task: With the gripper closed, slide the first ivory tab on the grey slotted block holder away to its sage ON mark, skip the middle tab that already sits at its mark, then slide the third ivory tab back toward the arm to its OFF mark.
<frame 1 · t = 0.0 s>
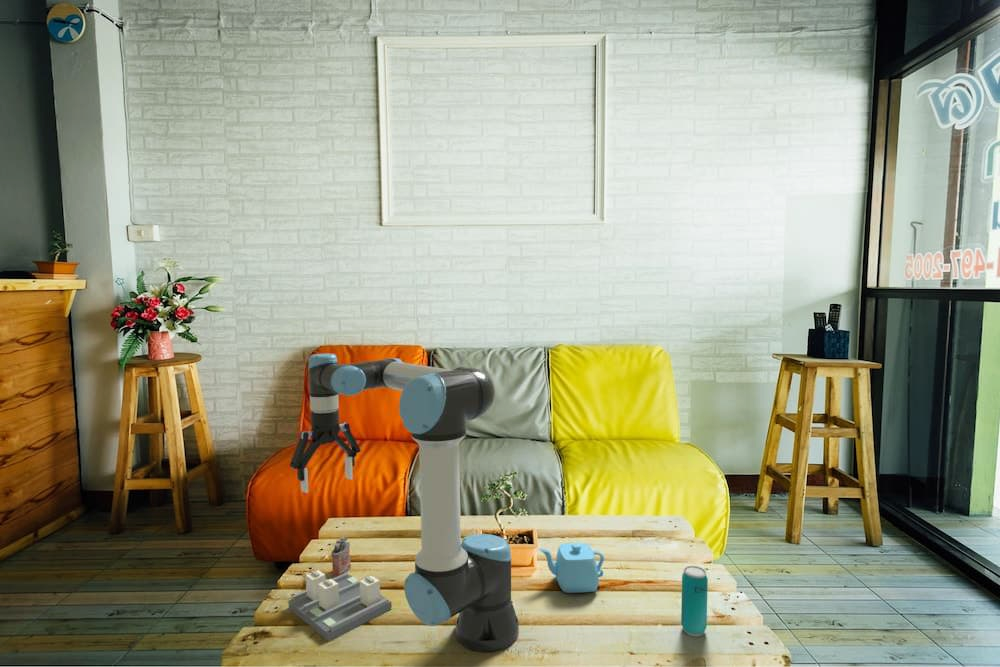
hand: (327, 484, 158), 28 cm above the table, fingers open, 13 cm apart
lighter: (341, 573, 165), on the table
teapot: (571, 585, 157), on the table
tab 2: (328, 593, 144), point 5 cm above the table, slide at 8.0 cm
beverage can: (693, 631, 136), on the table
grey slotted block holder: (340, 608, 147), on the table
tab 3: (315, 584, 149), point 5 cm above the table, slide at 8.0 cm
tab 1: (370, 590, 146), point 5 cm above the table, slide at 0.0 cm
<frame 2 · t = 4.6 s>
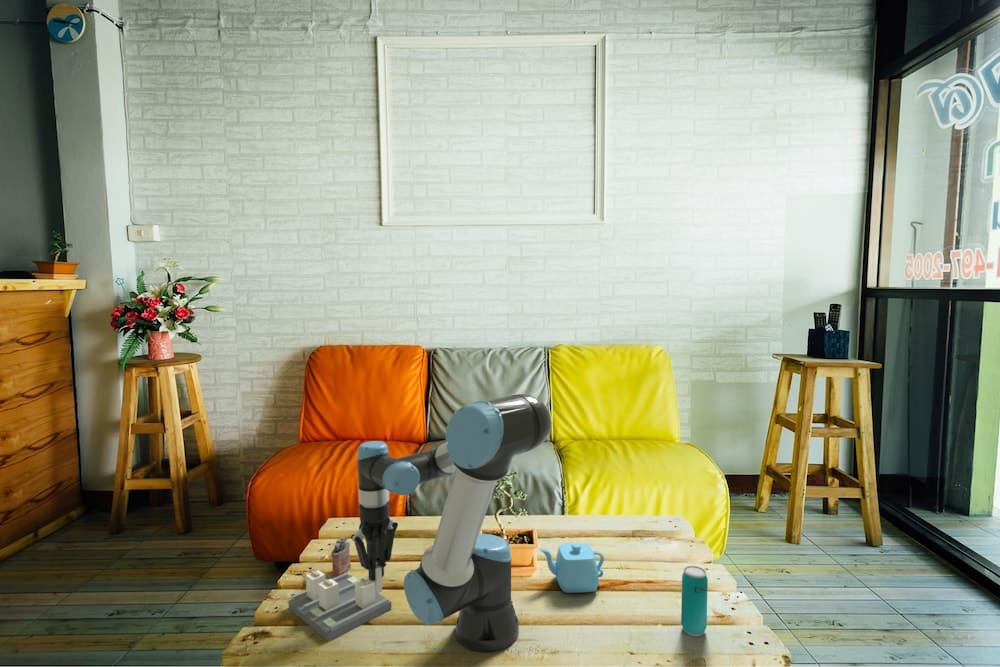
hand: (376, 590, 147), 4 cm above the table, fingers closed
tab 1: (365, 592, 145), point 5 cm above the table, slide at 1.4 cm, touching gripper
everything else where it was.
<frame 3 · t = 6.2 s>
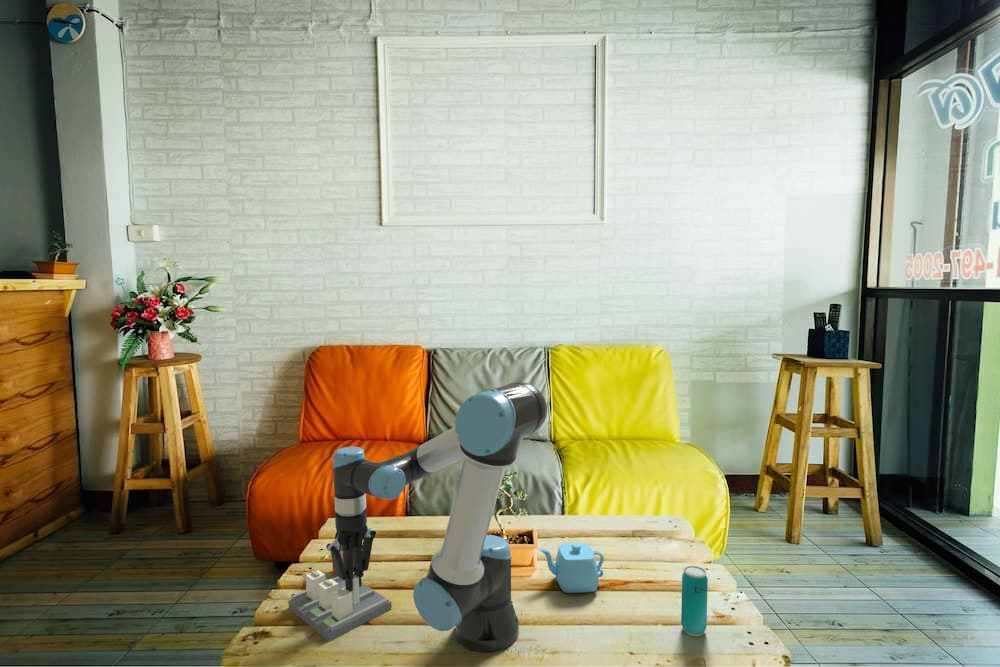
hand: (354, 600, 143), 4 cm above the table, fingers closed
tab 1: (341, 603, 140), point 5 cm above the table, slide at 8.1 cm, touching gripper
everything else where it was.
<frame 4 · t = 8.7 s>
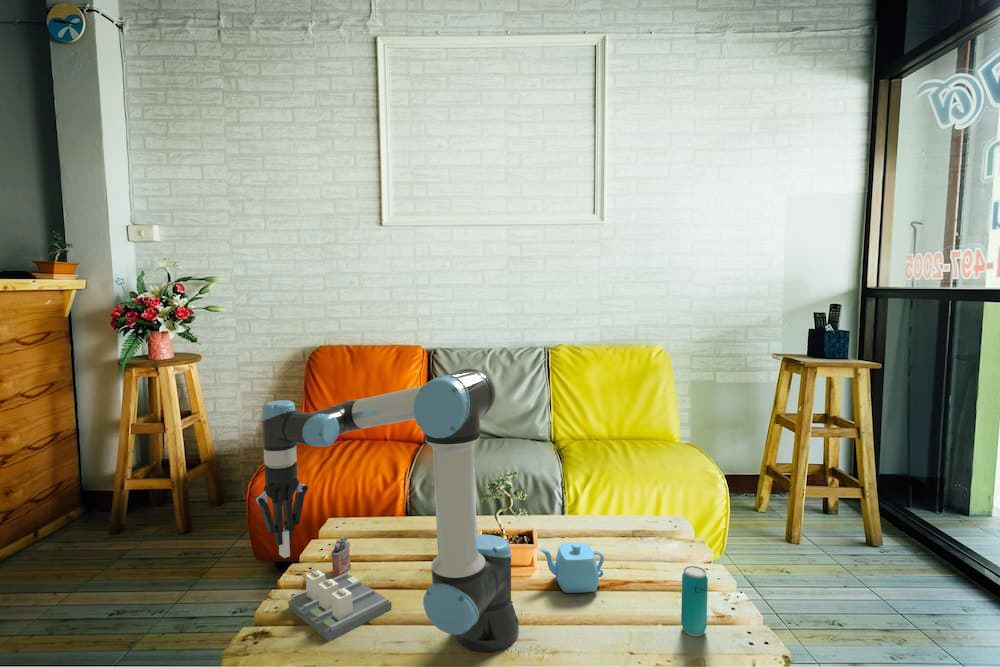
hand: (284, 555, 142), 16 cm above the table, fingers closed
tab 1: (342, 603, 140), point 5 cm above the table, slide at 8.0 cm
everything else where it was.
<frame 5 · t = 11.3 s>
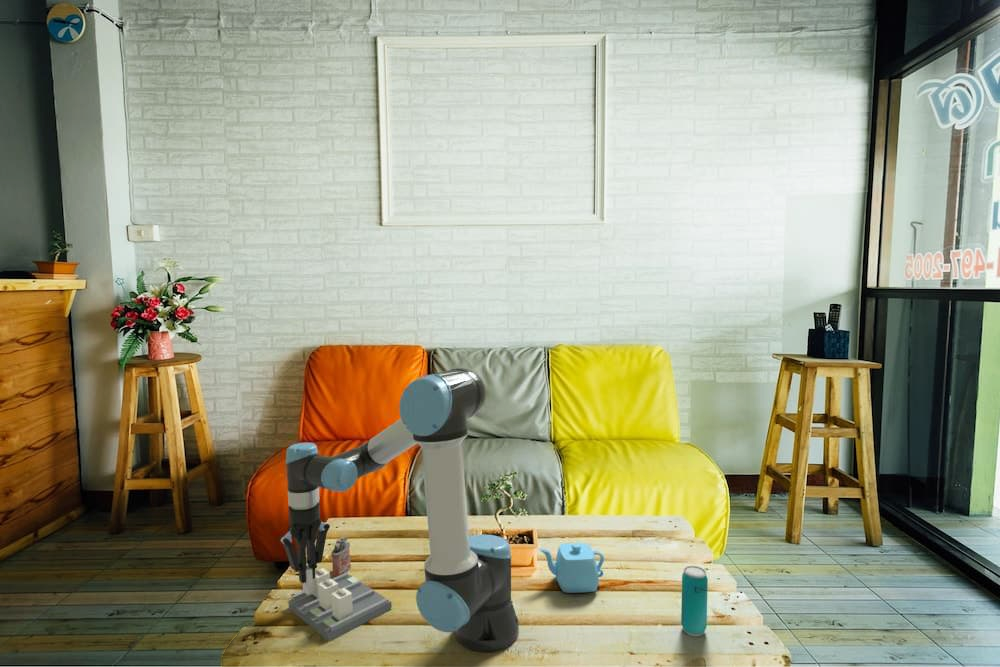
hand: (308, 592, 147), 4 cm above the table, fingers closed
tab 3: (320, 582, 150), point 5 cm above the table, slide at 6.7 cm, touching gripper
everything else where it was.
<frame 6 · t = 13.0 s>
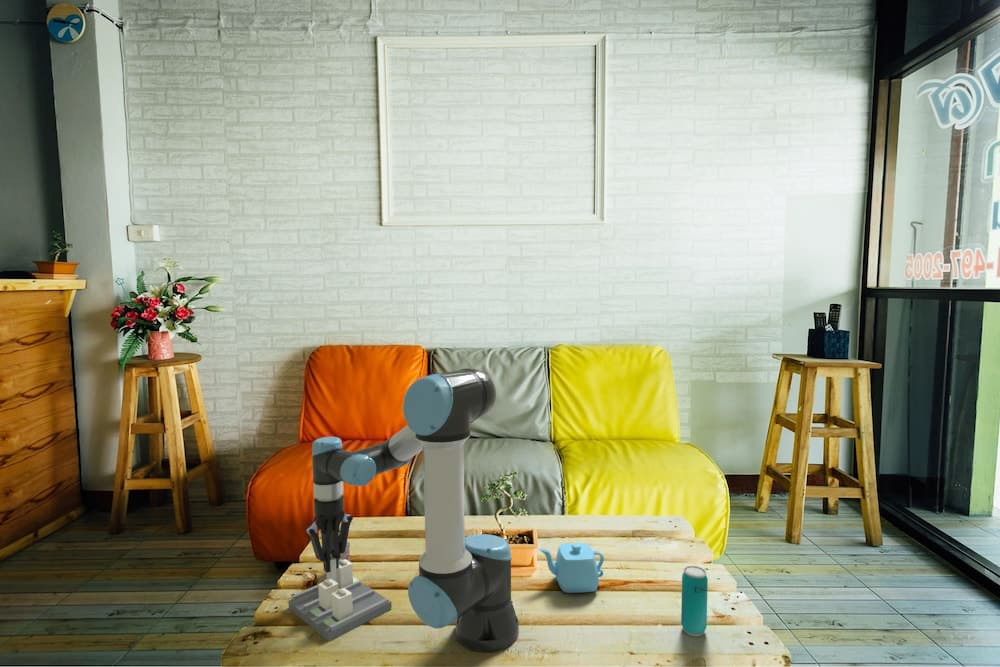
hand: (331, 581, 152), 4 cm above the table, fingers closed
tab 3: (343, 572, 155), point 5 cm above the table, slide at -0.1 cm, touching gripper
everything else where it was.
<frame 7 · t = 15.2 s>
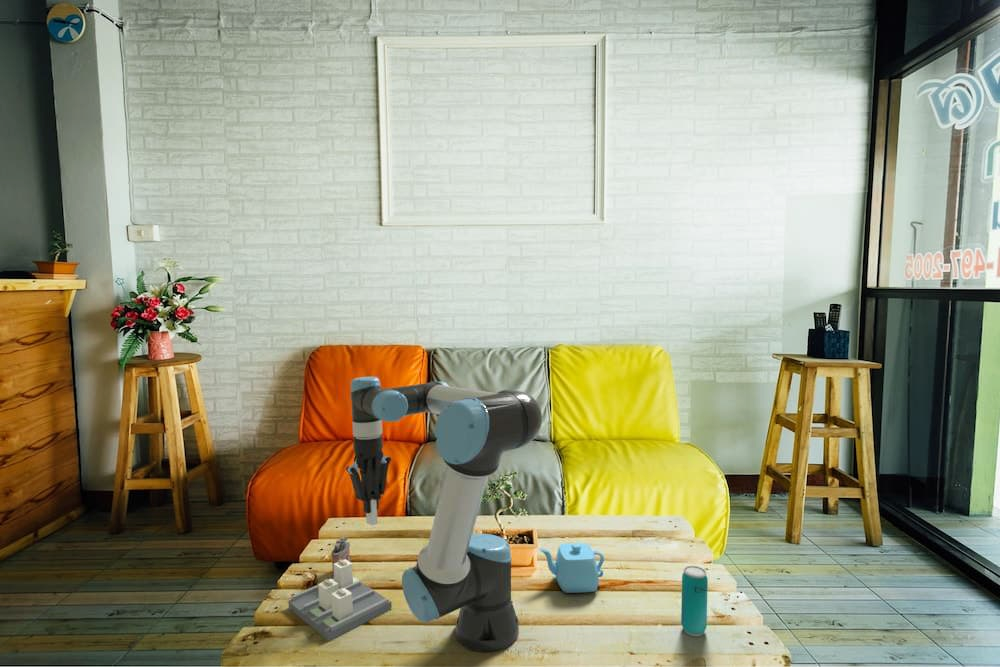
hand: (372, 523, 151), 20 cm above the table, fingers closed
tab 3: (343, 572, 155), point 5 cm above the table, slide at 0.0 cm
everything else where it was.
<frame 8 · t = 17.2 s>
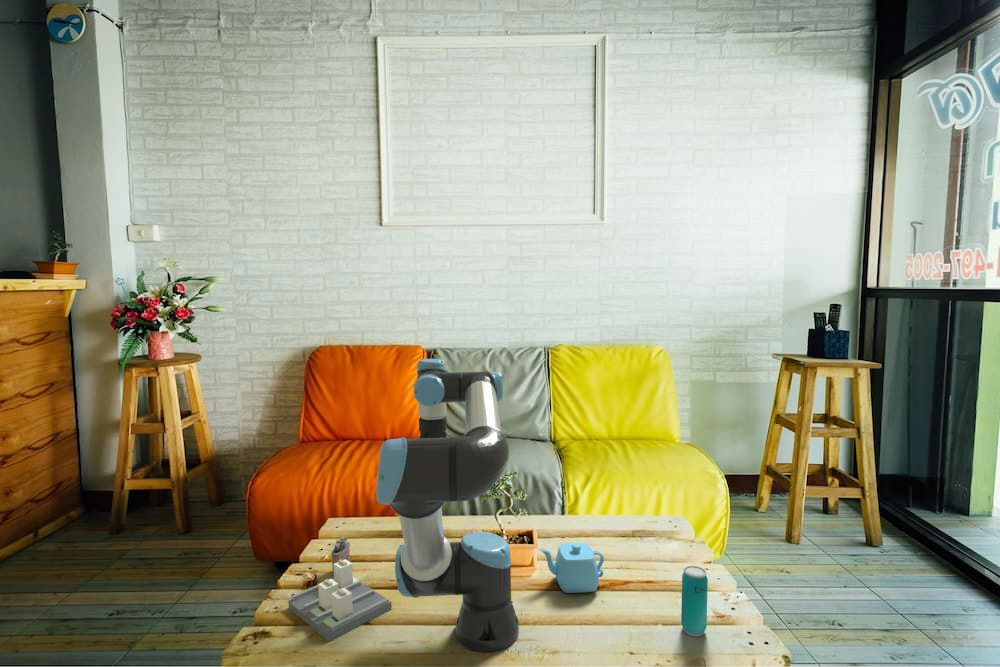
hand: (434, 501, 155), 24 cm above the table, fingers closed
nothing on the table moved.
at the end: tab 1 slide at 8.0 cm; tab 2 slide at 8.0 cm; tab 3 slide at 0.0 cm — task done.
